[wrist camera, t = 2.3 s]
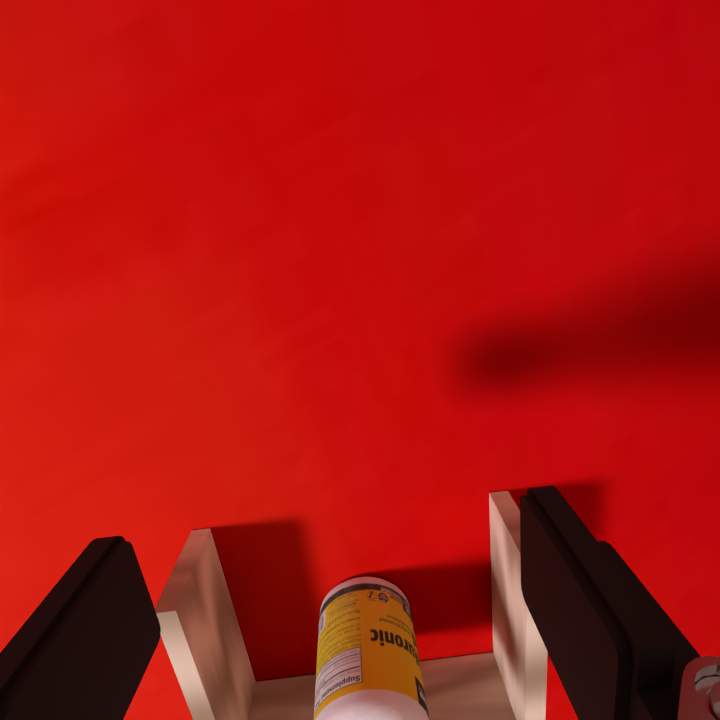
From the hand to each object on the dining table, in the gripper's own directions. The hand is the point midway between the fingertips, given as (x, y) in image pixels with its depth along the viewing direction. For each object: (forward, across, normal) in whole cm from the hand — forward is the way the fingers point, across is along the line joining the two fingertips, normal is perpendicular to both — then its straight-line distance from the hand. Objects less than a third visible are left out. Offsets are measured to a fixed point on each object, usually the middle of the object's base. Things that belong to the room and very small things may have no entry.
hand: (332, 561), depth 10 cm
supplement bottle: (+12, +1, +14) cm, 18 cm away
